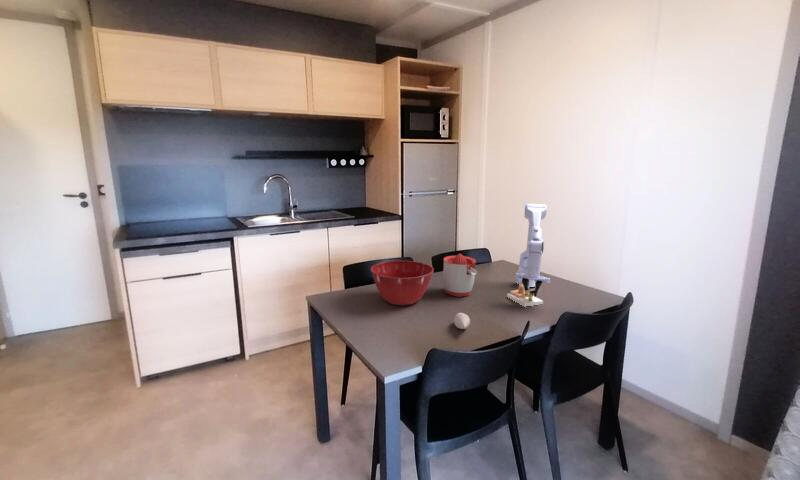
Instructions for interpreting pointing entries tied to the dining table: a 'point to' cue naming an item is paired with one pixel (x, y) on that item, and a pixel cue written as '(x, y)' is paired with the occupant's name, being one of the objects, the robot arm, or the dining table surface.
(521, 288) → the cover
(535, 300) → the latch box
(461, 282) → the citrus juicer
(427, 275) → the mixing bowl
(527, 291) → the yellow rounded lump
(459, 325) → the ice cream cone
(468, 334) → the dining table surface
